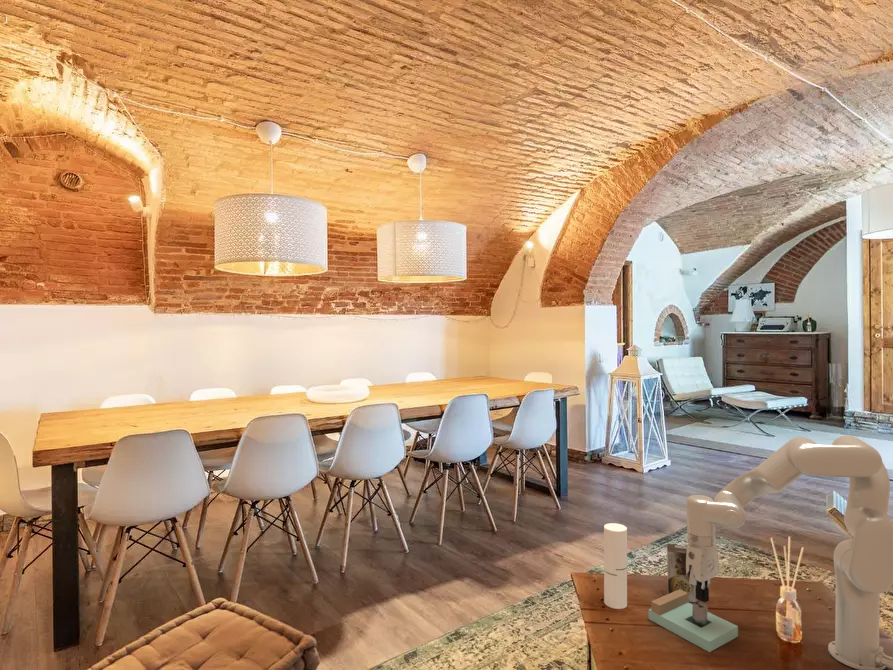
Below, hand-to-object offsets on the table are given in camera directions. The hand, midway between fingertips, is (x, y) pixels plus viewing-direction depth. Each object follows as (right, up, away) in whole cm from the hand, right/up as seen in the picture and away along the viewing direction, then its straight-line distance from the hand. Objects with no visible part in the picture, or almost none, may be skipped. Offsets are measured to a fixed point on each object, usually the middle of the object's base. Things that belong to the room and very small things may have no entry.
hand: (702, 599), depth 161 cm
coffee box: (+3, -9, +20) cm, 23 cm away
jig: (-2, -9, +2) cm, 10 cm away
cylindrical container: (-21, -9, +16) cm, 28 cm away
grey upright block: (-1, -9, 0) cm, 9 cm away
